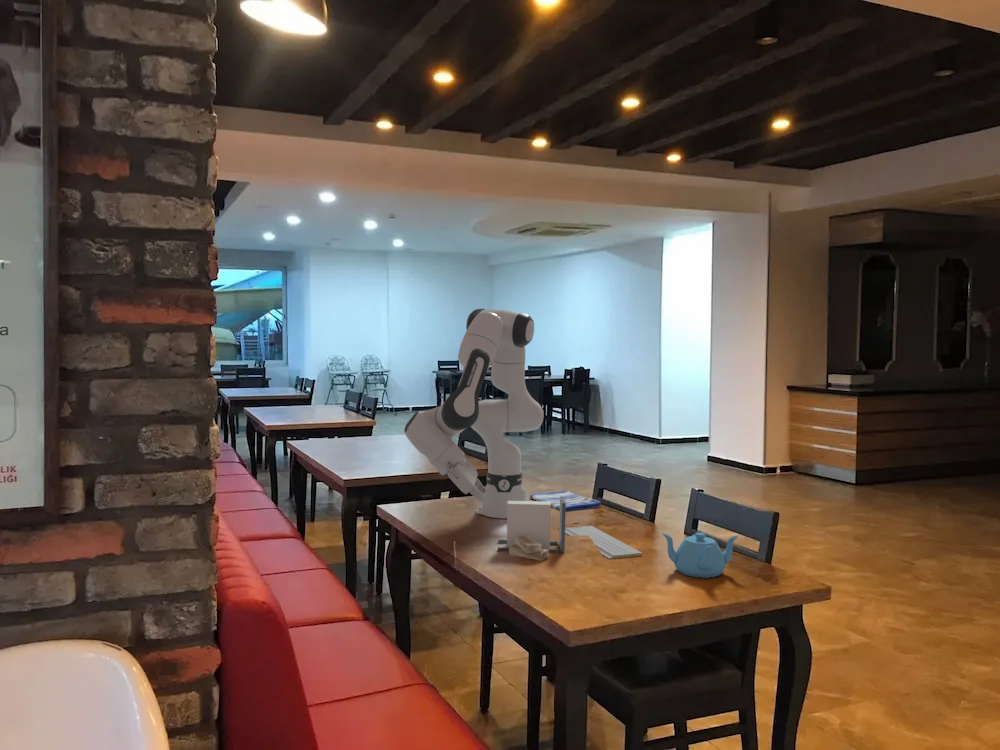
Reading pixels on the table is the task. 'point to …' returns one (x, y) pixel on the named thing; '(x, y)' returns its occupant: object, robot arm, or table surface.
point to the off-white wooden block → (529, 521)
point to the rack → (561, 531)
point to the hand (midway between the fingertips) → (483, 495)
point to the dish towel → (566, 500)
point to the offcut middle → (520, 552)
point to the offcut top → (528, 544)
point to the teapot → (700, 555)
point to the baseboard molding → (604, 542)
